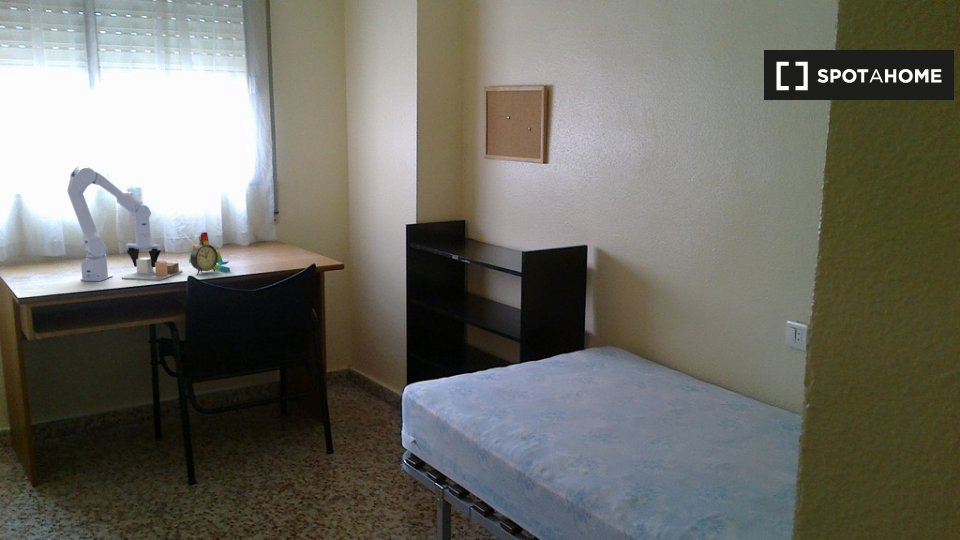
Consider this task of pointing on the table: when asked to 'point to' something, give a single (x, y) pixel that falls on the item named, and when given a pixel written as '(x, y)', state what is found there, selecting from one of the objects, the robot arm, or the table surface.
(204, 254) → the alarm clock
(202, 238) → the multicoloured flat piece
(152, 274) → the building board
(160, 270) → the terracotta round block
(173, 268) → the walnut base block
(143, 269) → the cream block
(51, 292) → the table surface
